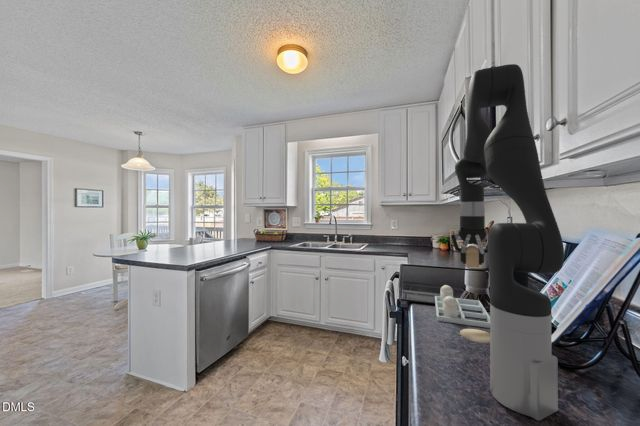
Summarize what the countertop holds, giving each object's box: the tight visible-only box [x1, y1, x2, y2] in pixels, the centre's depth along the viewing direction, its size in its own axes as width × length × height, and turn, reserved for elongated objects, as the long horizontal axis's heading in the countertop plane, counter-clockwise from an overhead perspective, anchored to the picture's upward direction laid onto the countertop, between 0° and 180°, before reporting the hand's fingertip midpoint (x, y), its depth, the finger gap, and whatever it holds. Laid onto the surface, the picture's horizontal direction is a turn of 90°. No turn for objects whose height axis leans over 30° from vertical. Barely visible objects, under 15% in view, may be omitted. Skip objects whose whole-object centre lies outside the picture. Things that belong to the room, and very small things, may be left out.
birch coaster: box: [459, 328, 490, 344], centre depth 75 cm, size 9×9×1 cm
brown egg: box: [464, 245, 480, 268], centre depth 92 cm, size 4×4×7 cm
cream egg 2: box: [442, 296, 459, 318], centre depth 88 cm, size 4×4×7 cm
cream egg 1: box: [439, 284, 454, 302], centre depth 102 cm, size 4×4×7 cm
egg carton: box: [434, 295, 490, 329], centre depth 93 cm, size 23×16×2 cm
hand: (472, 263), depth 92 cm, fingers closed on brown egg, 4 cm apart
